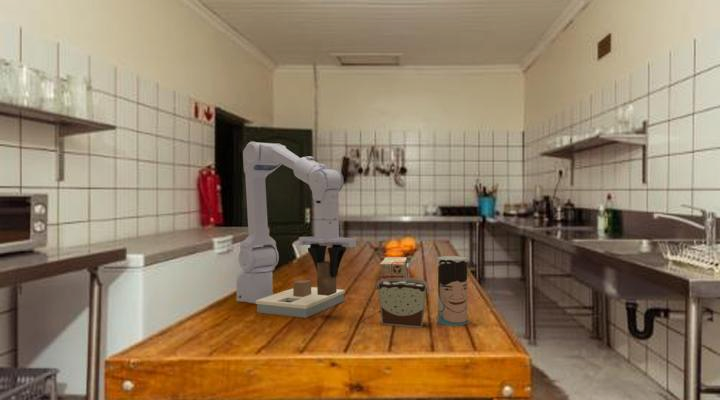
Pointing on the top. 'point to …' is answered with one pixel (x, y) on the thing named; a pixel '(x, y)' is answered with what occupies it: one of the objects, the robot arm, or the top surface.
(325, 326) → the top surface
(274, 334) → the top surface
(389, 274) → the stack of blocks
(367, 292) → the top surface
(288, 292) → the lid
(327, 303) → the shallow tray
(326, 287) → the walnut key
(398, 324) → the food container
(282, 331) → the top surface
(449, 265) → the cup
